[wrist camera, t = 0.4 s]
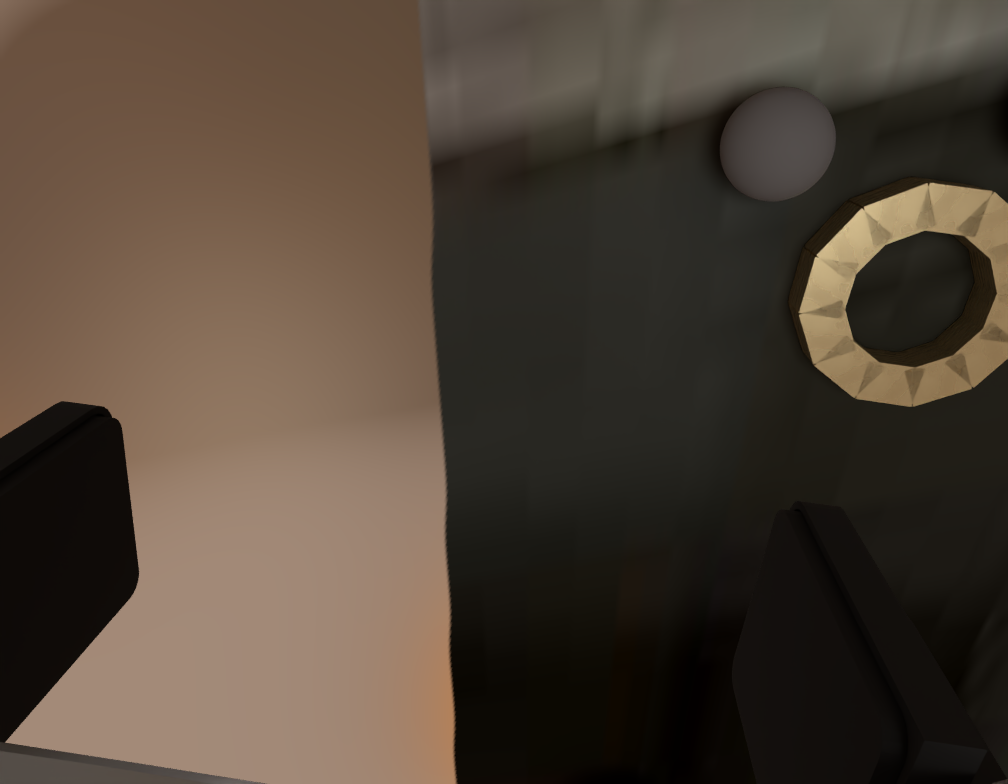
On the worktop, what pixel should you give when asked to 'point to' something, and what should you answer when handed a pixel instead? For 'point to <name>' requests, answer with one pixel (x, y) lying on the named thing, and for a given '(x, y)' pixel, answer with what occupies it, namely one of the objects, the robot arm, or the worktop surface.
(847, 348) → the gold faceted ring
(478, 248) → the worktop surface
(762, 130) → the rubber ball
